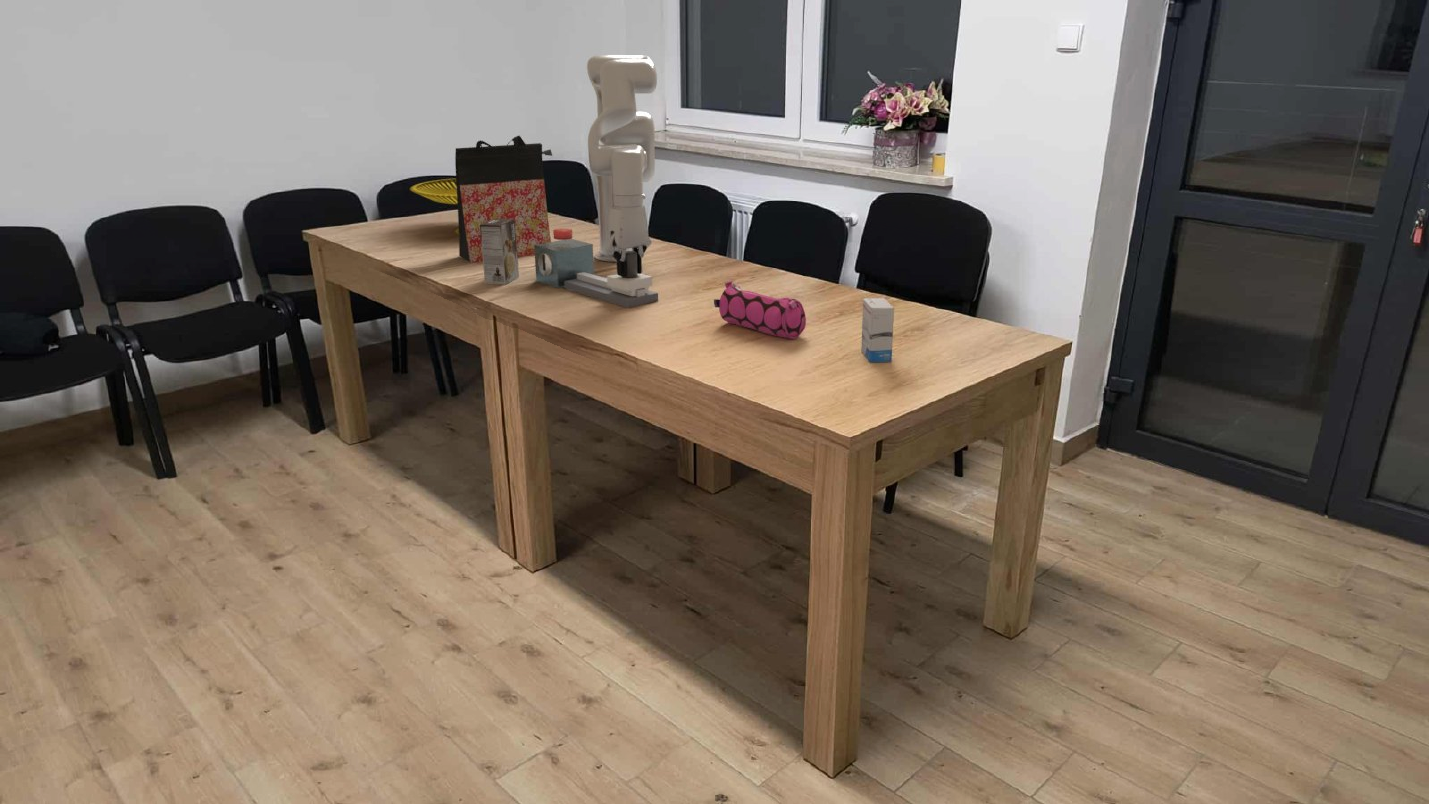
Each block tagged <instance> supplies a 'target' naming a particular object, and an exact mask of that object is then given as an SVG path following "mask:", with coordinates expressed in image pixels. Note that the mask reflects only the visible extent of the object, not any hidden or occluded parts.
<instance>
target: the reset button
mask: <svg viewBox="0 0 1429 804" xmlns="http://www.w3.org/2000/svg"><path fill="white" fill-rule="evenodd" d="M552 232H553V234H552V235H553V239H554V240H556V241H559V240H567V239H573V230H572V229H571V228H556V229H554V230H553V231H552Z"/></svg>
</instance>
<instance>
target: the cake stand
mask: <svg viewBox="0 0 1429 804" xmlns="http://www.w3.org/2000/svg"><path fill="white" fill-rule="evenodd" d="M409 190H410V192H412V193H414V194H417V195H420V196H421V197H423V198H426V199H428V200H430V201H432V202H436V203H438V204H439V203H441V204H448V205H458V203H457V185H456V177H455V178H446V179H442V178H441V179H437V180H430V181H424V182H420V183H417V184H414V185H412V186H410V188H409ZM454 232H455V233H456V234H457V235H459V228H457V229H455V231H454Z"/></svg>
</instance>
